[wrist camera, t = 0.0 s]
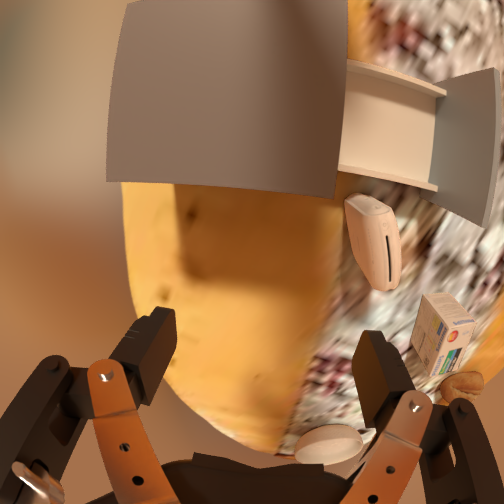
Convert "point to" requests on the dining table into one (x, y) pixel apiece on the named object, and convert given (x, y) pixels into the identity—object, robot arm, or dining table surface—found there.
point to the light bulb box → (441, 333)
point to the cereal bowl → (328, 445)
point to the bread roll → (462, 386)
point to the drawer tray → (425, 135)
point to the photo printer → (374, 240)
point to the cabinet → (230, 94)
